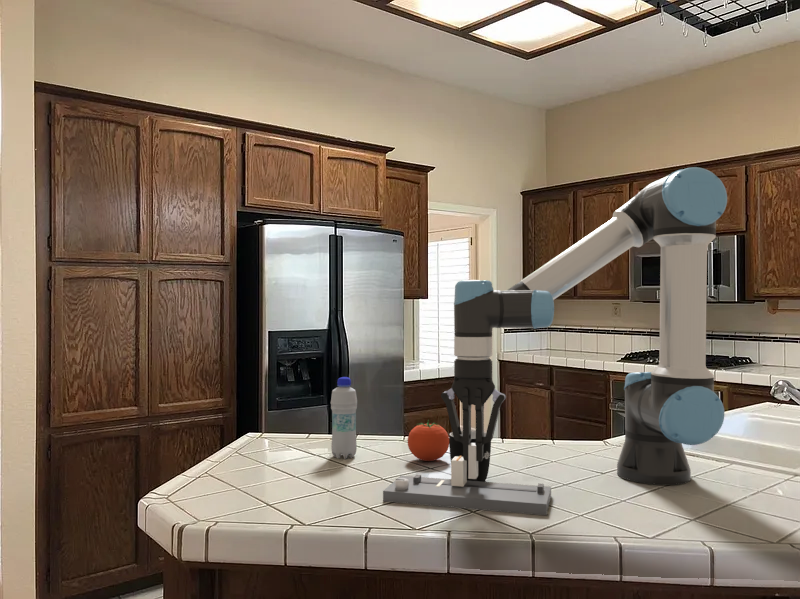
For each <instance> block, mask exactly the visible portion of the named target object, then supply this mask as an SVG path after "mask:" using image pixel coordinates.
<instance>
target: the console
mask: <svg viewBox="0 0 800 599" xmlns="http://www.w3.org/2000/svg"><path fill="white" fill-rule="evenodd" d="M551 499H552V486H547V485H545V484H544V483H538V484H537V485H532V484H518V483H506V482H504V483H503V482H493V481H485V482H481V481H467V482H466V484H465V485H464V486H463V487H462V486H451V478H440V477H439V478H437V477H425V476H424V477H423V476H422V474H415V475H414V476H413V475H412V476H411V475H400V476H398V477H397V478H395V479H394V481H393V482H392V483H391V484H389V485H388V486H387V487H386V488H384V489H383V490H382V501H383V502H389V503H397V504H398V503H399V504H409V505H410V504H411V505H412V504H413V505H420V506H422V505H423V506H435V507H445V508H459V509H468V510H469V509H470V510H481V511H482V510H483V511H493V512H505V513H516V514H526V515H528V514H529V515H539V516H547V515H548V512H549V506H550V502H551Z"/></svg>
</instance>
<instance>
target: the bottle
mask: <svg viewBox="0 0 800 599" xmlns="http://www.w3.org/2000/svg"><path fill="white" fill-rule="evenodd" d="M336 381H337V382H336V383H337V385H336V386H337V387H335V388H334V389H332V391H331V399H330V409H331V421H332V422H331V428H332V429H331V434H332V435H331V445H330V446H331V453H332V456H333V457H334V458H337V459H341V457H342V456H343V459H344V460H345V459H347V458H348V457H349V458H350V459H351V458H354V456H356V453H357V451H358V450H357V448H358V447H357V434H356V433H357V432H356V431H357V429H356V427H357V422H356V421H357V413H356V412H357V408H358V398H357V391H356V389H354V388H353V387H351V385H352V379H351V378H350V377H348V376H342V377H339V378H338V379H337V380H336ZM341 455H342V456H341Z"/></svg>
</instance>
